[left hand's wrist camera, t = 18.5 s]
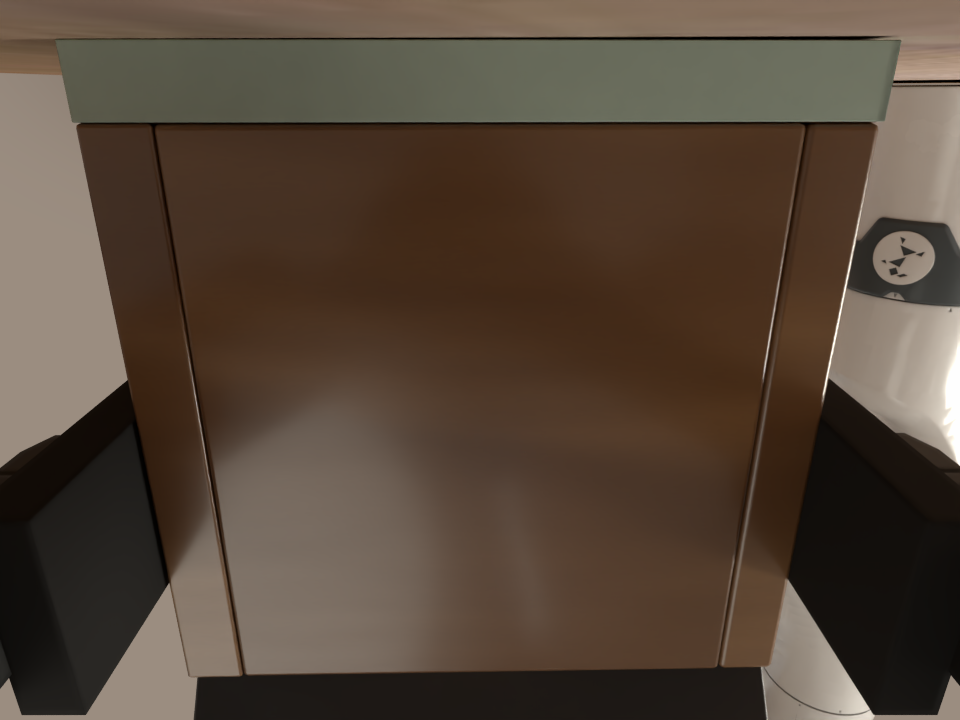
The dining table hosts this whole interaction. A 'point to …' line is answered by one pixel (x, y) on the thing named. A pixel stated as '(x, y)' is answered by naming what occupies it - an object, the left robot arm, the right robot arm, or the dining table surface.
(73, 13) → the dining table surface
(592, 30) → the dining table surface
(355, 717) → the lid
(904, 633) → the left robot arm
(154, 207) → the chest
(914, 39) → the dining table surface
